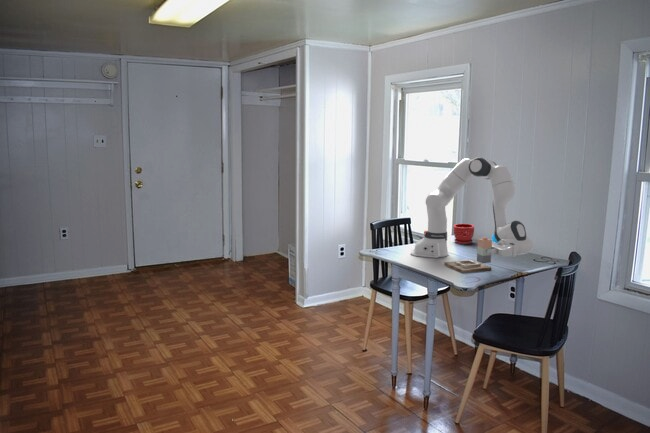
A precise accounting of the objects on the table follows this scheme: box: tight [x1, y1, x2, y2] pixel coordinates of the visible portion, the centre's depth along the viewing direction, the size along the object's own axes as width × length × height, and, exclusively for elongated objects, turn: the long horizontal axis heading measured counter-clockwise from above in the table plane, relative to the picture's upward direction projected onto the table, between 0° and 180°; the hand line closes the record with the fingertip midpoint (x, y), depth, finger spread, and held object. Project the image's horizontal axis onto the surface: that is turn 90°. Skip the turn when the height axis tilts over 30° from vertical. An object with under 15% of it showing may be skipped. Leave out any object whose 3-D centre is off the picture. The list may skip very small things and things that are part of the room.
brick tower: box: [476, 236, 492, 264], centre depth 269 cm, size 5×5×13 cm
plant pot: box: [453, 223, 475, 245], centre depth 345 cm, size 13×13×12 cm
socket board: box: [443, 259, 492, 274], centre depth 285 cm, size 18×18×3 cm
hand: (482, 249), depth 269 cm, fingers closed on brick tower, 5 cm apart
